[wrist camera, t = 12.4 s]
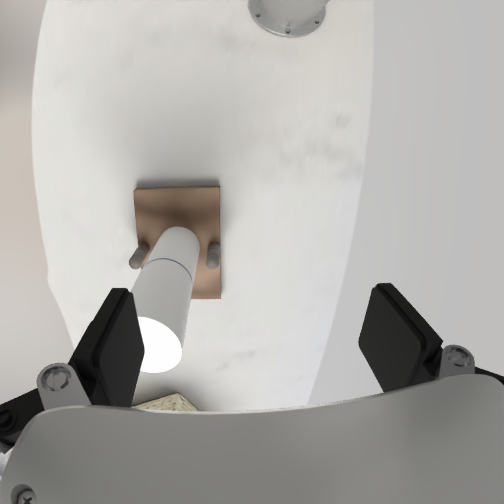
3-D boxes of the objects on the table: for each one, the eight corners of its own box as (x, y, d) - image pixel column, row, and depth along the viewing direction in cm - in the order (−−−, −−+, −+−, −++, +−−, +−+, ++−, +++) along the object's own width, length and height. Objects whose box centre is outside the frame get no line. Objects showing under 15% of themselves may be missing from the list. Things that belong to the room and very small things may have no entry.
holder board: (136, 188, 45) (121, 199, 38) (219, 186, 47) (218, 196, 40) (147, 294, 53) (138, 317, 46) (221, 294, 54) (220, 318, 47)
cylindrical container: (208, 252, 49) (197, 357, 26) (174, 273, 50) (144, 380, 27) (183, 218, 47) (147, 303, 24) (149, 241, 48) (96, 334, 25)
